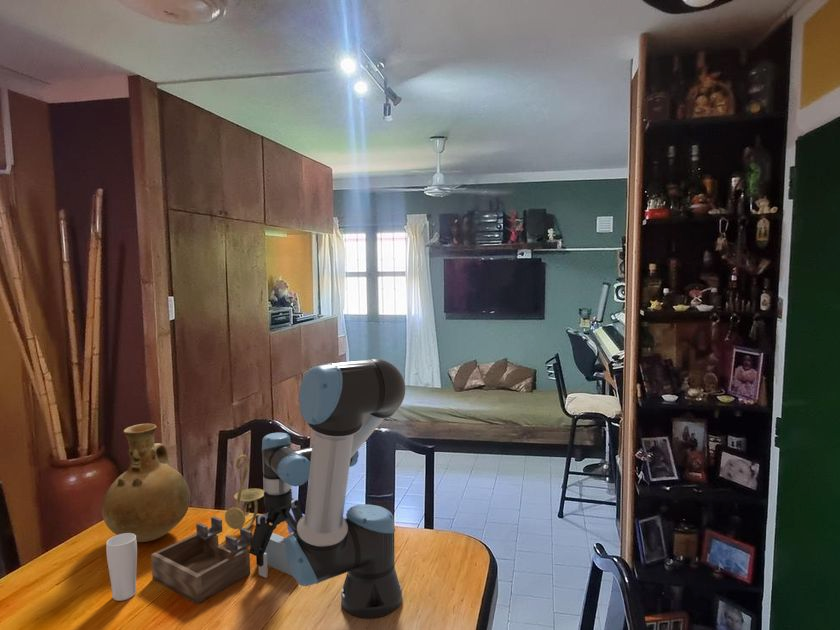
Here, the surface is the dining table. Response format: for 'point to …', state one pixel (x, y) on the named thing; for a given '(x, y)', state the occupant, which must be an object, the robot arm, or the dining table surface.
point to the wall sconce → (235, 515)
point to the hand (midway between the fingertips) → (280, 565)
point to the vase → (146, 490)
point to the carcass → (203, 562)
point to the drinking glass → (122, 565)
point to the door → (277, 554)
